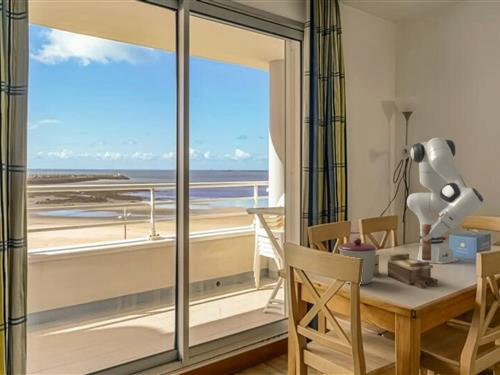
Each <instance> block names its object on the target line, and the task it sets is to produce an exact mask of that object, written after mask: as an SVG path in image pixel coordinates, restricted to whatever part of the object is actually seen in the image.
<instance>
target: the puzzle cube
mask: <svg viewBox="0 0 500 375" xmlns="http://www.w3.org/2000/svg"><path fill="white" fill-rule="evenodd" d="M379 263H380V254H378V253H376V257H375V266H374V273H373V276H376V275H377V274H379V273H380V267H379V266H380V264H379Z"/></svg>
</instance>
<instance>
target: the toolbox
mask: <svg viewBox="0 0 500 375" xmlns="http://www.w3.org/2000/svg"><path fill="white" fill-rule="evenodd" d="M431 270H432V268H427V269H419V270H409V269H407V268H404V267H401V266H398V265H395V264H392V263H389V262H388V261H387V277H388V278H390V279H393V280H396V281H398V282H401V283H403V284H405V285H407V286H412V285H414V287H416V288H419V289H425V286H426V284H427V285H428V286H432V287H434V288H435V287H438V286H439V285H438V284H439V283H438V282H439V279H437V278H434V277H431V276H432V275H431V274H432V272H431Z"/></svg>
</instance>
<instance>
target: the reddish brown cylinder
mask: <svg viewBox="0 0 500 375" xmlns="http://www.w3.org/2000/svg"><path fill="white" fill-rule="evenodd" d="M430 230H431V225H430V224H422V260H426V261H430V260H431V239H429V240H428V241H425V240H424V237H426V236H427V235H428V234H429V232H430Z"/></svg>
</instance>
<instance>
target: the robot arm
mask: <svg viewBox="0 0 500 375" xmlns="http://www.w3.org/2000/svg"><path fill="white" fill-rule="evenodd" d="M456 150H457V148H456V145H455V142H454V141H453V140H451V139H444V138H442V137H437V136H436V137H433V138H431V139H429V140H428V141H425V142H417V143H413V145H412V146H411V149H410V157H411V159H412V161H413V162H414V163H418V172H419V173H418V175H419V183H420V185H421V186H422V187H424V188H426V189H428V190H429V191H430V192H413V193H410V194H409V195H408V196H407V198H406V205H407V207H408V209H409V210H410V211H412V212H413V213H414V214H415V215H416V217H417V219H418V222H419V237H418V239H419V240H418V241H419V248H418V249H419V250H418V254H417V258H416V261H420V262H429V264H440V265H443V264H450V263H454V262H457V261H459V258H457V257H456V256H454V255H455V254H454V250H453V248H452V247H450V246H449V245H447V244H446V243H445V242H446V241H448V237H447V236H442V235H443V234H446V232H447V231H449V230H453V229H455V228H457V227H458V226H460V224H461V223H462V222H464V221H465V219H466V218H467V217H468V216H471V215H472V214H473V213H475V212H476V210H478V209H479V208H480V207H481V206H482V204H483V202H484V198H483V196H482V194H481V193H480V192H479V191H478V190H477V189H476V188H474V187H467V186H466V184H465V181H464V179H463V177H462V175H461V174H460V170H459V167H458V166H457V163H456V159H455V158H454V157H455V155H456V153H457V152H456ZM442 179H443V180H445V181H446V184H443V182H442ZM431 213H438V215H439V217H438V218H435V217H433V216H432V215H431ZM422 224H430V225H431V230H430V232H429V234H428V235H427V236H426V237H424V240H425V241H428V240H429V239H431V260H430V261H426V260H422Z"/></svg>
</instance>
